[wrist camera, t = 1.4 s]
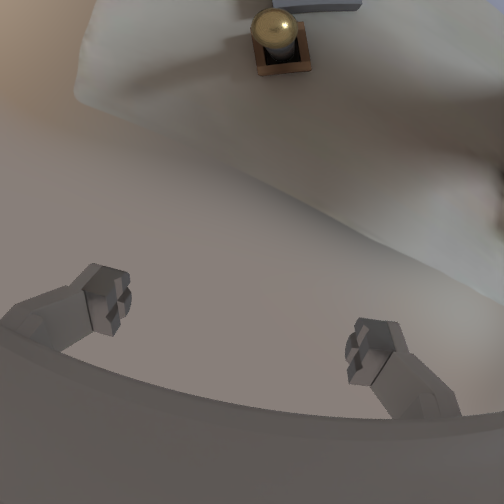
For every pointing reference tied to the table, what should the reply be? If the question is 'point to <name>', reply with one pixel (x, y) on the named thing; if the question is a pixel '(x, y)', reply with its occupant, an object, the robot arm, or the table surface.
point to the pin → (276, 32)
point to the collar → (286, 67)
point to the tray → (317, 5)
